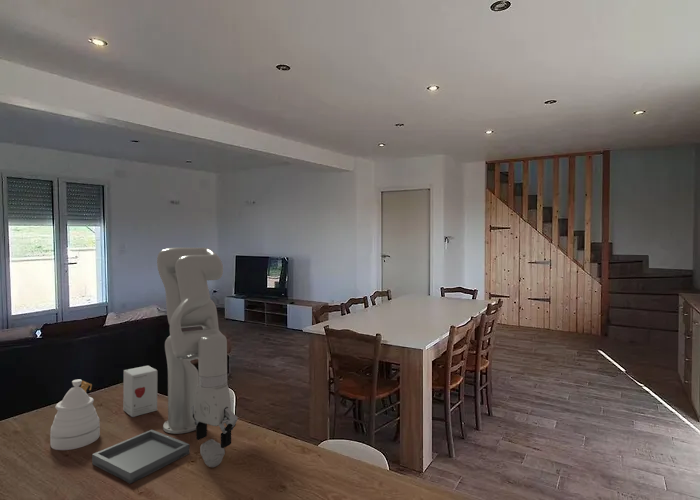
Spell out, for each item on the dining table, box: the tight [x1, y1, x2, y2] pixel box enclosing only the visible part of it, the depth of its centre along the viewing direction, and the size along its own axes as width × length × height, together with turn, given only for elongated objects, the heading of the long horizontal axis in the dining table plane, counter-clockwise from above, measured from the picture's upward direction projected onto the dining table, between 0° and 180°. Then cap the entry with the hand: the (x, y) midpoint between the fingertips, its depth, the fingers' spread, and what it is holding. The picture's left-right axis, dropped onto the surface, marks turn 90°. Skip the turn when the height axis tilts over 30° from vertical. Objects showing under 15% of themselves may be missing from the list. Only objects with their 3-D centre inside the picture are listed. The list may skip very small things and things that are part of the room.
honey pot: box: [49, 378, 101, 451], centre depth 131 cm, size 13×13×18 cm
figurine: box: [79, 380, 93, 393], centre depth 150 cm, size 8×6×12 cm
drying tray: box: [91, 429, 190, 485], centre depth 120 cm, size 18×18×3 cm
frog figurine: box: [199, 438, 226, 468], centre depth 117 cm, size 6×7×7 cm
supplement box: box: [122, 365, 158, 418], centre depth 154 cm, size 9×9×15 cm
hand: (213, 442), depth 116 cm, fingers open, 9 cm apart
